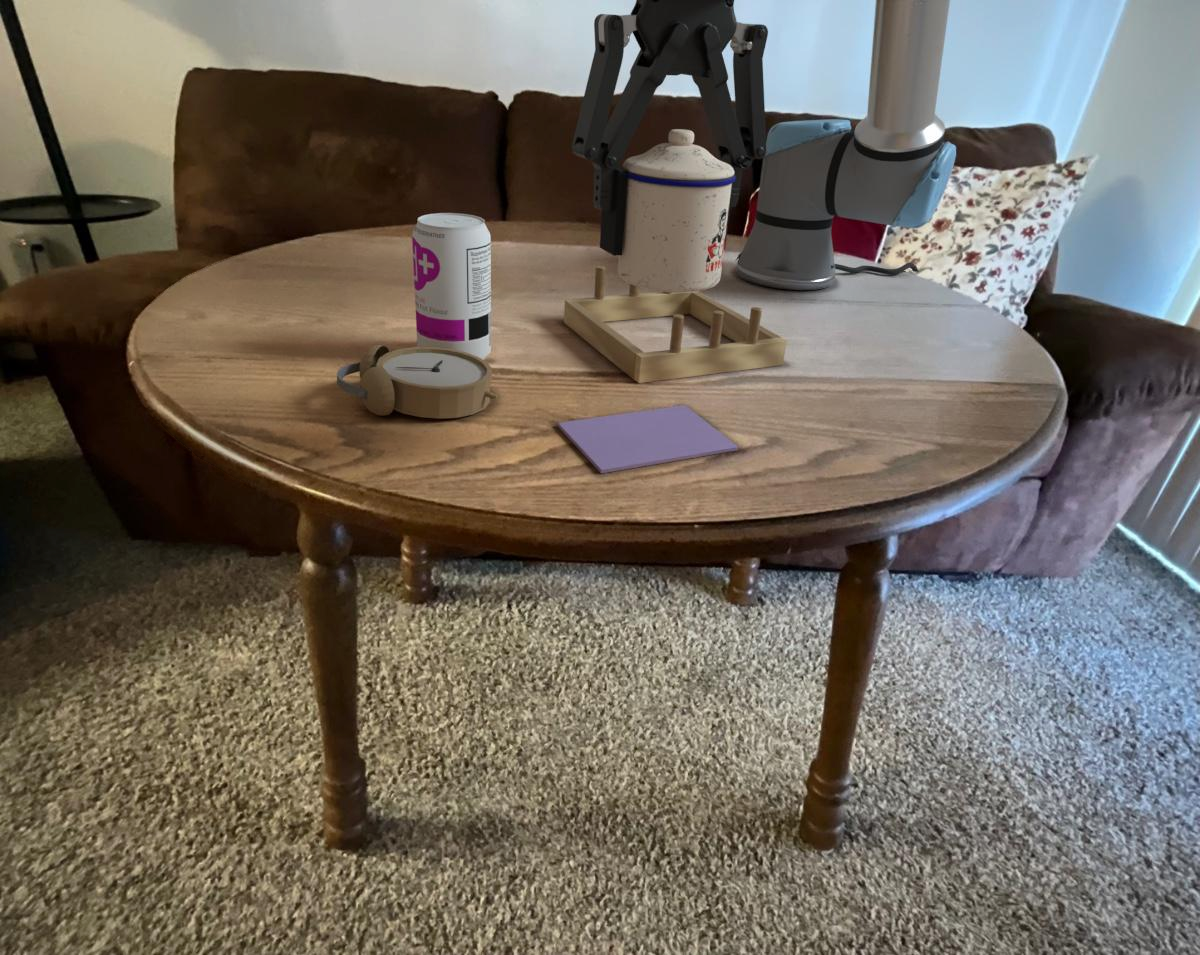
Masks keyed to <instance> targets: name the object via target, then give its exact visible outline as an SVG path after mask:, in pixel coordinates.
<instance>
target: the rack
mask: <svg viewBox="0 0 1200 955" xmlns="http://www.w3.org/2000/svg"><path fill="white" fill-rule="evenodd" d="M605 280H606V267H605V266H602V265H597V266H595V276H594V294H593V295H594V296H593V297H579V298H568V299H564V307H563V308H564V309H563V310H564V311H563V323H564V324H565V325H566V326H567V327H568V328H569V329H571V330H572V331H573V332H574V333H575V334H577V335H578V336H579V337H581V338H582V339H583V340H584V341H586V342H587V343H588V344H589V345H591V346H592V347H593V348H594V349H595V350H597V351H598V352H599V353H600V354H602V355H603V356H604V357H605V358H606V359H608V360H609V361H610V362H611V363H613V365H615V366H616V367H617V368H618V369H620V370H621V371H622V372H623V373H625V374H626V375H627V376H629V378H631V379H632V380H633V381H635V382H637V383H638V384H644V383H650V382H652V383H653V382H659V381H667V380H674V379H683V378H690V377H692V378H693V377H699V376H707V375H708V376H709V375H715V374H716V375H717V374H722V373H731V372H738V371H739V372H741V371H747V370H754V369H755V370H756V369H762V368H763V369H764V368H771V367H778V366H784V361H785V354H786V348H787V343H788V340H786V339H784V338H783V337H782V336H780V335H778V334H777V333H775V332H773V331H771V330H769V329H768V328H766V327H764V326H762V325H761V318H762V312H763V309H762V308H761V307H758V306H753V307H751V308H750V314H749V318H748V317H746V316H744V315H742V314H741V313H739V312H737V311H735V310H733V309H732V308H730V307H729V306H726V305H724V304H723V303H720V302H719V301H717V300H715V299H714V298H712V297H710V296H708V295H706V294H705V293H703V292H701V291H695V292H664V291H655V292H643V293H640V292H639V291H640V287H637V286H634V285H632V284H629V294H618V295H606V296H605ZM684 315H690V316H692V317H693V318H695V319H697V320H699V321H701V322H702V323H703V324H705V325H707V326H709V327H710V331H709V332H710V333H709V340H708V345H702V346H701V345H700V346H691V347H683V348H682V343H683V342H682V341H683V331H684V323H685V322H684V321H685V316H684ZM671 316H672V322H671V333H670V341H669V349H664V350H656V351H655V350H654V351H648V352H647V351H646V352H644V351H643V350H642V349H641V348H639V347H637V345H635V344H634V343H632V342H631V341H630V340H628V339H627V338H626V337H624V336H623V335H622V334H621V333H619V332H617V330H615V329H614V328H612V327H611V326H610V325H609V324H607V323H608V322H618V321H629V320H638V319H639V320H641V319H649V318H660V317H671ZM605 322H607V323H605ZM722 336H725V337H726V338H728V339H730V340H732V341H733V342H728V343H721V338H722Z"/></svg>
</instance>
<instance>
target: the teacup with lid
mask: <svg viewBox="0 0 1200 955" xmlns="http://www.w3.org/2000/svg"><path fill="white" fill-rule="evenodd" d="M667 141H668V142H663V143H659V144H657V145H655V146H653V147H651V148H650V149H648V150H647V151H645V152H643V153H641V154H638V155H634V156H630V157H628V158H626V160H624V161H623V164H622V167H621V168H622V169H625V170H628V174H627V191H626V206H625V220H624V235H623V249H622V255H618V262H617V273H618V276H619V277H620V278H621V280H623V281H624V282H625V283H627V284H629V285H630V284H632V285H634V286H637V287H639V288H641V289H645V290H651V291H655V292H663V291H664V292H695V291H698V292H701V291H706V290H710V289H712V288H714V287H716V286H717V285H718V284H719V283H720V281H721V278H722V268H723V260H724V253H725V252H724V251H725V249H724V244H725V236H726V228H727V219H728V211H729V203H730V194H731V186H732V183H733V182H734V181H735V179H736V177H735V175H734V169H733V168H732V166H731V165H729V164H727V163H725V162H722V161H720V159H719V158H716V157H715V156H714V155H713V154H712V153H710V151H709V150H707V149H706V148H704V147H702V146H700V145H698V144H693V143H694V142H695V133H694V132H693V131H692V130H690V129H685V128H675V129H674V128H673V129H671V130H670V131H669V133H668V140H667Z"/></svg>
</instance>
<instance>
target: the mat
mask: <svg viewBox="0 0 1200 955" xmlns="http://www.w3.org/2000/svg"><path fill="white" fill-rule="evenodd" d="M557 427H558V429H559V430H560V431H561V432H562V433H563V434H564V435H565V436H566V437H567V439H568V440H569V441H570V442H571V443H572V444H573V445H574V446H575V447H576V448H577V449H578V450H579V451H580V452H581V454H582V455H583V456H584V457H585V458H586V459H587V460H588V461H589V462H590V463H591V465H592V466H593V467H594V468H595V469H596V470H597V471H598V472H599V473H600V474H607V473H612V472H619V471H623V470H624V471H625V470H631V469H635V468H642V467H648V466H655V465H659V464H666V463H672V462H679V461H683V460H689V459H694V458H701V457H707V456H712V455H713V456H714V455H719V454H725V453H731V452H736V451H738V450H739V446H738V445H737V444H736V443H734V442H733V441H731V440H730V439H729V438H727V437H726V436H725V435H724V434H723V433H721V432H720V431H719V430H717V429H716V428H715V427H714V426H712V425H711V424H710V423H709V422H707V421H706V420H705V419H704V418H702V417H701V416H699V414H697V413H696V412H695V411H693V410H692V409H691V408H689V407H688V406H687V405H686V404H682V405H681V404H680V405H675V406H667V407H661V408H653V409H646V410H640V411H633V412H625V413H619V414H611V415H604V416H596V417H590V418H583V419H575V420H568V421H561V422H557Z"/></svg>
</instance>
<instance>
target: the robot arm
mask: <svg viewBox="0 0 1200 955" xmlns="http://www.w3.org/2000/svg"><path fill="white" fill-rule="evenodd" d="M950 3H951V0H875V4H874V18H873V33H872V34H873V35H872V44H871V58H870V60H871V61H870V62H871V63H870V72H869V83H868V84H869V86H868V87H869V88H868V98H867V111H866V112H867V113H866V116H865V117H863V119H861V120H860V121H858V123H857V124H856V126H855V128H854V131H851V130H852V125H851V121H850V120H849V119H840V118H839V119H837V118H836V119H835V118H834V119H833V118H832V119H809V120H807V119H806V120H793V121H783V122H779V123H778V122H777V123H776V124H774V125H772V126H771V128H770V129H769V131H768V133H767V132H766V130H767V129H766V107H765V86H764V84H765V83H764V82H765V81H764V63H763V61H764V60H763V58H764V53H765V49H766V44H767V40H768V36H769V30H768V27H767V26H766V25H765V24H762V23H761V24H760V23H745V22H744V23H743V22H740V21H739V22H738V21H737V17H736V13H735V8H734V7H735V6H734V4H735V0H636V1H635V3H634V6H633V8H632V10H631V12H630V14H611V13H609V14H608V13H600V14H598V15H596V16H595V18H594V22H593V31H594V54H593V57H592V60H591V61H592V62H591V65H590V70H589V74H588V78H587V82H586V85H585V89H584V94H583V98H582V103H581V107H580V111H579V114H578V120H577V123H576V128H575V132H574V136H573V140H572V144H571V152H572V153H573V155H575V156H576V157H579V158H582V159H584V160H587V161H588V162H590V163H591V164H592V166H593V170H594V172H593V189H592V203H593V206H594V208H595V209H596V210H599V211H600V212H601V218H600V220H601V221H600V234H599V248H600V249H601V250H602V251H604V252H607V253H608V254H610V255H612V256H614V257H615V256H619V255H622V249H623V235H624V220H625V206H626V191H627V174H628V170H625V169H622V167H620V166H619V165H620V163H621V161H622V159H623V157H624V155H625V153H626V151H627V149H628V147H629V145H630V144H631V141H632V139H633V137H634V135H635V133H636V131H637V128H638V127H639V125H640V123H641V121H642V119H643V117H644V115H645V113H646V111H647V108H648V107H649V105H650V102H651V101H652V99H653V96H654V95H655V92H656V90H657V89H658V88H659V87H660V86H661V85H662V84H663V83H664V81H665V79H666V77H667V76H680V75H684V76H685V75H686V76H691V78H692V80H693V83H694V84H695V85H696V86H697V89H698V91H699V95H700V98H701V102H702V104H703V108H704V111H705V115H706V118H707V122H708V125H709V129H710V132H711V136H712V139H713V143H714V145H715V149H716V152H717V155H718V156H717V157H718V160H720V161H722V162H725V163H727V164H729V165H731V166H732V168H733V169H734V175H735V177H736V179H735V181H734V182H733V183H732V186H731V194H730V203H729V211H728V219H727V228H726V236H725V244H724V250H726V243H727V237H728V229H729V221H730V214H731V213H730V212H731V208H734V207H735V208H736V206H737V204H738V202H739V198H740V190H741V189H740V188H741V183H742V174H743V170H748V169H750V167H751V166H752V164H753V161H754V160H762V165H761V172H760V181H759V188H758V196H757V203H756V211H755V216H754V217H755V218H754V223H753V227H752V229H751V231H750V233H749V234H748V237H747V239H746V242H745V244H744V246H743V248H742V250H741V252H740V253H739V254H738V255H737V257H736V259H735V261H736V269H735V272H736V275H737V276H739V277H740V278H741V279H743V280H745V281H747V282H749V283H752V284H755V285H760V286H764V287H769V288H773V289H782V290H788V291H789V290H791V291H813V290H814V291H815V290H822V289H826V288H830V287H831V286H832V285H833V284H834V283H835V278H836V270H838V271H842V272H844V273H845V272H846V273H850V274H859V273H861V272H873V273H878V274H881V275H882V274H883V275H898V274H901V273H903V272H904V271H906V270H908V269H911V271H912V272H914V273H919V268H918V267H917V265H916V264H915V263H914V262H906V263H904V264H903V265H902V266H900V267H897V268H884V267H880V266H874V265H859V266H857V267H851V266H847V265H843V264H838V263H835V256H834V246H833V238H832V228H833V221H834V217H839V218H844V219H851V220H856V221H862V222H869V223H874V224H881V225H886V226H891V228H896V227H898V228H905V229H919V228H922V227H924V226H925V225H926V224H928V223H929V221H931V219H932V217H933V215H934V214H935V213H936V211H937V208H938V207H939V205H940V203H941V200H942V198H943V195H944V194H945V191H946V188H947V185H948V184H949V180H950V178H951V176H952V175H951V174H952V172H953V169H954V165H955V162H956V158H957V146H956V145H955V144H953V143H952V142H950V141H946V142H945V141H944V139H945V132H946V131H945V130H946V126H945V123H944V121H943V120H942V119H941V118H940V117H939V116H938V115H936V107H937V100H938V91H939V85H940V76H941V69H942V62H943V55H944V47H945V39H946V33H947V25H948V17H949V10H950ZM632 34H633V36H634V38H635V41H636V43H637V44H638V46H639V49H640V50H639V51H638V54H637V56H636V58H635V60H634V62H633V64H632V66H631V67H630V70H629V78H628V81H627V82H626V85H625V87H624V89H623V91H622V92H621V95H620V97H619V99H618V101H617V103H616V106H615V107H614V109H613V111H612V113H611V116H610V117H609V115H610V112H611V107H612V103H613V99H614V95H615V91H616V87H617V83H618V79H619V76H620V72H621V68H622V63H623V59H624V51H625V48H626V47H627V46H628V44H629V43H630V40H631V39H630V37H631V35H632ZM728 44H729V47H730V48H731V50H732V52H733V56H732V72H733V88H734V89H733V90H734V104H735V105H734V104H733V101H732V97H731V94H730V90H729V86H728V80H729V73H728V70H727V67H726V63H725V60H724V56H723V52H724V50H725V49H726V47H727V46H728ZM734 106H735V108H734ZM608 118H609V119H608Z"/></svg>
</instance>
